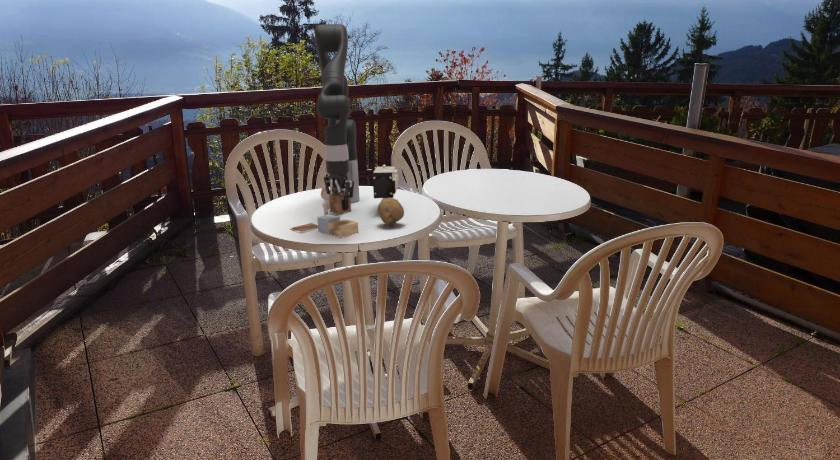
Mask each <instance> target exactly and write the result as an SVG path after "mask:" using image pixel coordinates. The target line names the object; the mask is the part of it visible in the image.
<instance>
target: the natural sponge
mask: <svg viewBox="0 0 840 460" xmlns="http://www.w3.org/2000/svg"><path fill="white" fill-rule="evenodd" d="M381 200H382V199H381ZM397 200H398V199H396V198H394V197H393V198H387V199H384V200H382V201H380V202H379V203H378V205H377V211H378V215H379V219H381V221H382V223H383V224H385V225H386V226H387V227H392V226H394V225H395V224H396V223H397V222H399V221H400V220H402V218H404V216H405V210H404V207H403V206H402V203H401V202H400V201H399V200H398V201H397Z"/></svg>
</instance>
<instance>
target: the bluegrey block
mask: <svg viewBox="0 0 840 460" xmlns="http://www.w3.org/2000/svg"><path fill="white" fill-rule="evenodd" d="M316 219H317V220H316V221H317V225H318V229H317V230H318V232H320V231H321V233H324V232H325V234H327V233H329V228H328V223H332V222H335V221H339V220H341V217H340V216H338V215H336V216H334V215H332V214H329V213H328V214H327V215H325V214H324V215H321V216H317V217H316Z"/></svg>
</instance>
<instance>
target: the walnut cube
mask: <svg viewBox="0 0 840 460" xmlns="http://www.w3.org/2000/svg"><path fill="white" fill-rule="evenodd" d="M344 196H345V192H344ZM329 203H330V209H329V212H330V213H332V212H333V213H336V215H342V213H343V214H345V213H351V212H352V205H351V200H350V198H349V209H348V210H346V211H343V210H342V198H341V194H340V193H339V192H338V193H333V194H329Z"/></svg>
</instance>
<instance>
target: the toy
mask: <svg viewBox="0 0 840 460" xmlns="http://www.w3.org/2000/svg"><path fill="white" fill-rule="evenodd" d="M342 190H345V188H344V189H342ZM349 193H350V192H349ZM320 197H321V199H322V200H324V201H323V203H322V207H323V212H324V215H327V214H329V210H330V203H329V194H327V192H326V187H325V183H324V184H323V186H322V187H321V191H320ZM342 214H344V213H342ZM342 214H341V215H342ZM331 215H334V216H337V213H333V212H331Z"/></svg>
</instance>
